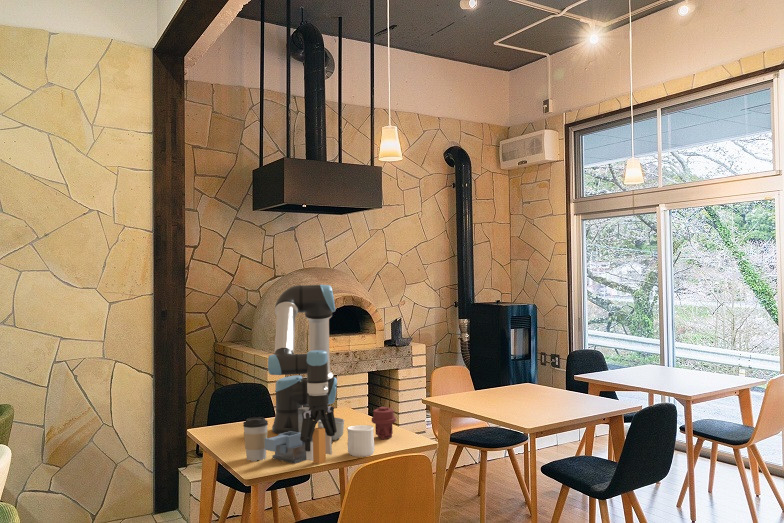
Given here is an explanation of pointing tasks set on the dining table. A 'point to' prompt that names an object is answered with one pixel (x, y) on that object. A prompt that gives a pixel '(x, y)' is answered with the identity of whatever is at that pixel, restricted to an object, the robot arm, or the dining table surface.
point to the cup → (360, 440)
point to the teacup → (339, 427)
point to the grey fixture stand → (296, 452)
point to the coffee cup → (255, 438)
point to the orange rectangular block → (319, 445)
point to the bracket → (283, 441)
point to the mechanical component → (383, 422)
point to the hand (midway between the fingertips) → (319, 456)
